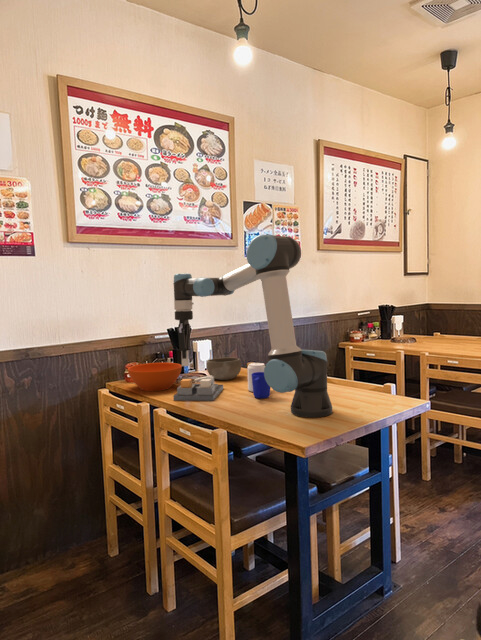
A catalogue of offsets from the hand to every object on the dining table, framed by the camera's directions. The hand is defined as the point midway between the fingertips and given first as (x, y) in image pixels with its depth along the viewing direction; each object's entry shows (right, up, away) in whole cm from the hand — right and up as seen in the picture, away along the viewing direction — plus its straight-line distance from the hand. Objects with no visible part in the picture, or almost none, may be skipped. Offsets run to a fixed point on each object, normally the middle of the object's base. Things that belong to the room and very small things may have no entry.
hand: (185, 365), depth 195 cm
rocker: (+7, -7, +14) cm, 17 cm away
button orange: (0, -10, +1) cm, 10 cm away
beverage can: (+31, -12, +11) cm, 35 cm away
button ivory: (+9, -9, -1) cm, 13 cm away
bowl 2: (+15, -11, +40) cm, 45 cm away
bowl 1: (-17, -13, +23) cm, 31 cm away
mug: (+32, -13, -3) cm, 35 cm away
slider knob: (+10, -11, +7) cm, 16 cm away
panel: (+5, -13, +7) cm, 16 cm away
